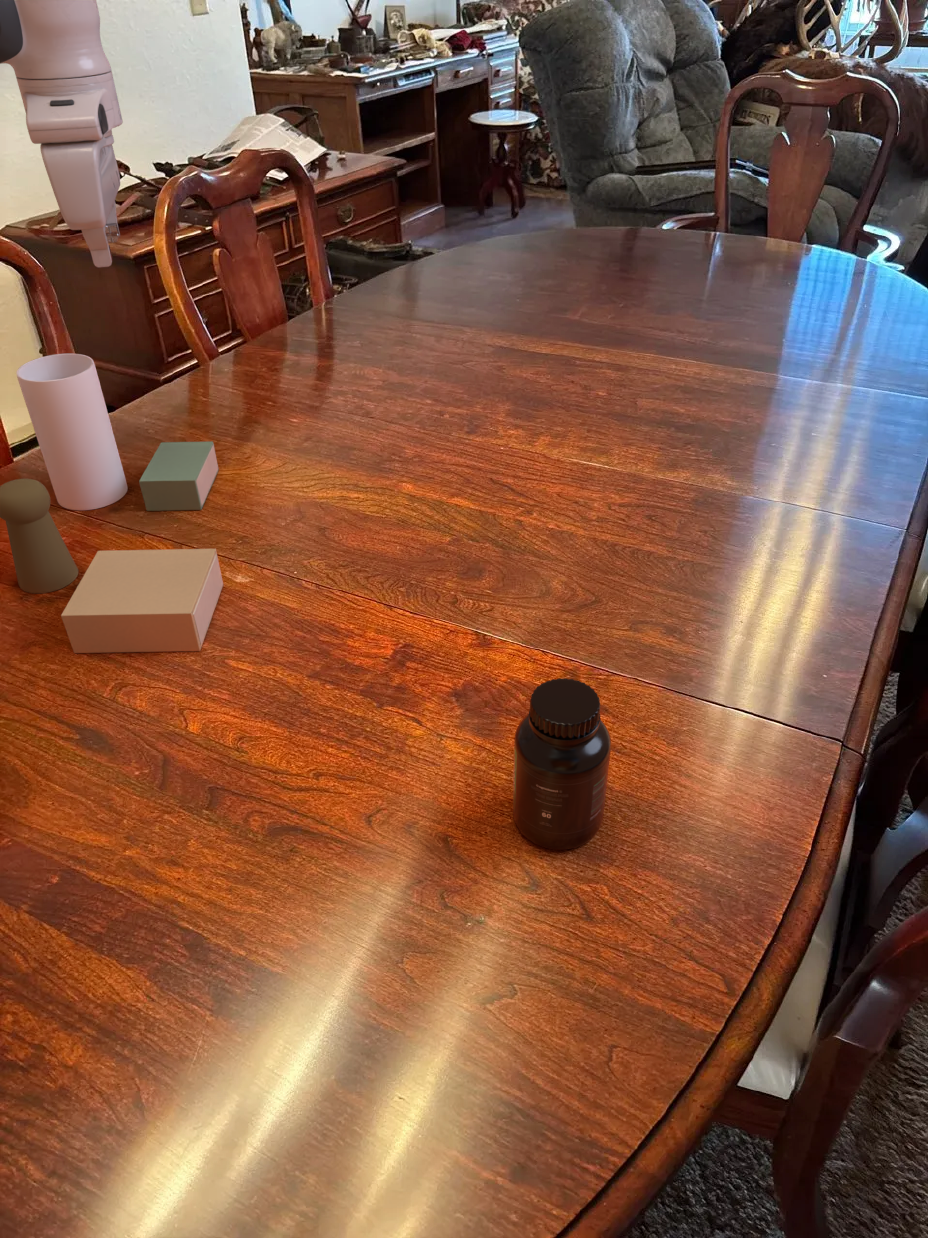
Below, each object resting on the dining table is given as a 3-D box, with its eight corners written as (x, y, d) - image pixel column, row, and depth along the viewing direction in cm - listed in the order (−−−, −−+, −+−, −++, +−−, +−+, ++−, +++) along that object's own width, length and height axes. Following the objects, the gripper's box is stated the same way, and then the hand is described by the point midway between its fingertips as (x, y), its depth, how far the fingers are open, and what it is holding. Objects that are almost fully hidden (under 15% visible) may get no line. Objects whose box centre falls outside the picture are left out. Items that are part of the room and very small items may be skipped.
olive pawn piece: (90, 570, 98) (61, 479, 92) (44, 599, 94) (10, 506, 88) (52, 555, 101) (21, 465, 94) (6, 583, 97) (-30, 491, 90)
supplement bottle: (495, 827, 70) (496, 710, 62) (540, 771, 74) (546, 656, 67) (575, 868, 66) (586, 750, 59) (618, 807, 71) (632, 690, 64)
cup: (72, 517, 107) (30, 387, 98) (47, 491, 113) (5, 365, 103) (138, 495, 112) (105, 367, 102) (111, 470, 117) (77, 347, 107)
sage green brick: (146, 511, 108) (138, 480, 106) (167, 470, 116) (160, 442, 114) (201, 510, 108) (195, 479, 106) (219, 469, 116) (213, 441, 114)
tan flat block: (73, 653, 87) (60, 615, 85) (108, 586, 96) (97, 550, 93) (201, 651, 87) (192, 613, 84) (224, 584, 96) (216, 548, 93)
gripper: (53, 94, 99) (88, 230, 107) (22, 126, 83) (66, 283, 91) (114, 91, 100) (144, 225, 108) (95, 122, 84) (132, 277, 92)
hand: (108, 252), depth 99 cm, fingers open, 8 cm apart
